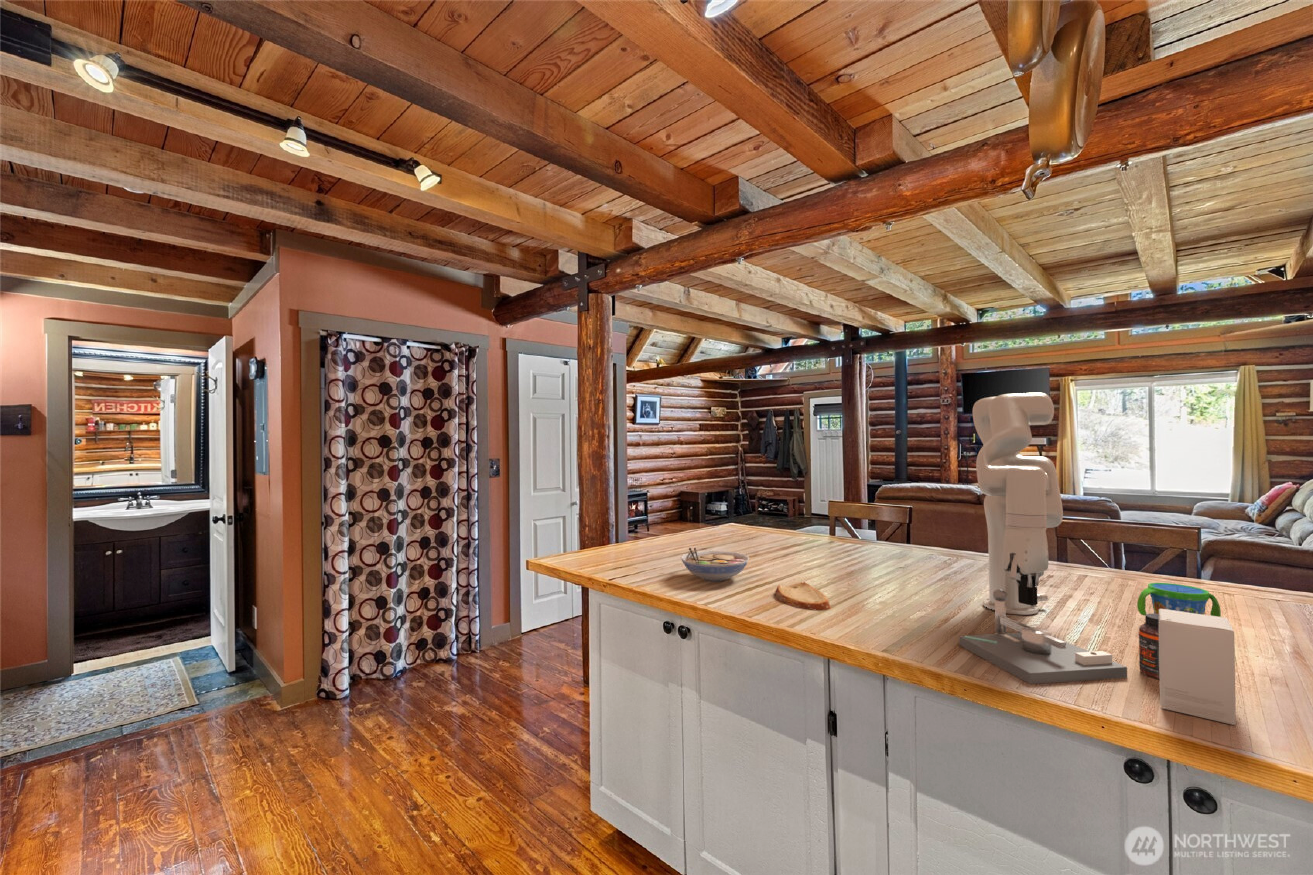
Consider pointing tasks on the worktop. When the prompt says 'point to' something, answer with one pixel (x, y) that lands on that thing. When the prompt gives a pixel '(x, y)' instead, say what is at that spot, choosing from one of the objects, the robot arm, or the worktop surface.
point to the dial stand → (1043, 660)
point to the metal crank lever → (1023, 628)
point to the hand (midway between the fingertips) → (1027, 603)
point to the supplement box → (1197, 665)
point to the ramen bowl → (714, 564)
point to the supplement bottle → (1149, 646)
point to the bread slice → (803, 596)
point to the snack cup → (1177, 599)
